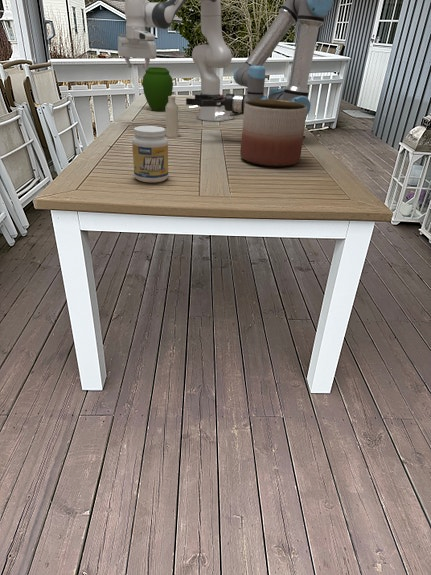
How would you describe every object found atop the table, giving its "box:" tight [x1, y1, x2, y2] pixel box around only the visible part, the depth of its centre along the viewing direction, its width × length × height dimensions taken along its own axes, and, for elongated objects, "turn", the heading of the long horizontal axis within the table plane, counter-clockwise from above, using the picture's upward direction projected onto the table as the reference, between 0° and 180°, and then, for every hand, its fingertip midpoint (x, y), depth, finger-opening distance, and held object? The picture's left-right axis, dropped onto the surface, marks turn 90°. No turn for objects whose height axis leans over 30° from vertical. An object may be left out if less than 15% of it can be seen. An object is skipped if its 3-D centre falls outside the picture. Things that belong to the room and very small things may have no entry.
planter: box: [240, 100, 307, 168], centre depth 169 cm, size 25×25×22 cm
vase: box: [141, 66, 174, 112], centre depth 261 cm, size 20×20×24 cm
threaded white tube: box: [165, 95, 179, 138], centre depth 201 cm, size 6×6×18 cm
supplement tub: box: [131, 125, 169, 183], centre depth 142 cm, size 12×12×17 cm
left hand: (137, 68), depth 196 cm, fingers open, 8 cm apart
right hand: (190, 99), depth 195 cm, fingers open, 13 cm apart
